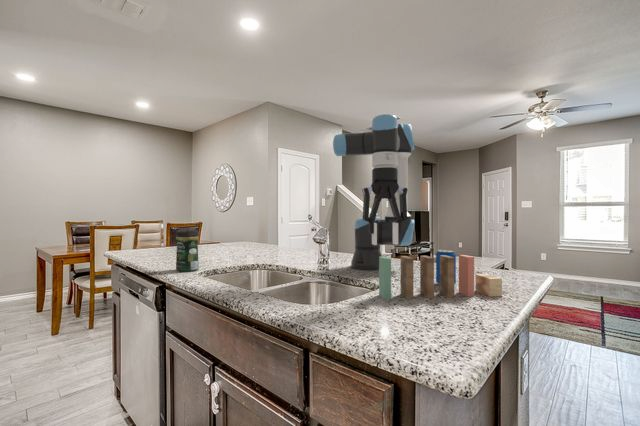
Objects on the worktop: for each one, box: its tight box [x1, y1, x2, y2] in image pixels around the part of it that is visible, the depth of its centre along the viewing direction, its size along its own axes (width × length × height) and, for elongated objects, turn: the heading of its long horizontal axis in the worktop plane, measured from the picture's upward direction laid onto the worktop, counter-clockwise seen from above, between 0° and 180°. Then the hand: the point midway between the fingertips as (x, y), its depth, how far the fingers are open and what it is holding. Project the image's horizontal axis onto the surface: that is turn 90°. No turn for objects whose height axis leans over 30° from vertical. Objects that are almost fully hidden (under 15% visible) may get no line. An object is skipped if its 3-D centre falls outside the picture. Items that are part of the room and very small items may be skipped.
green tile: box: [378, 255, 392, 301], centre depth 94 cm, size 5×2×12 cm, turn 7°
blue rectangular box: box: [435, 249, 457, 286], centre depth 111 cm, size 6×6×12 cm
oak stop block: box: [475, 273, 503, 297], centre depth 99 cm, size 7×4×5 cm, turn 7°
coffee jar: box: [175, 227, 200, 273], centre depth 138 cm, size 10×8×19 cm
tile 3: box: [419, 255, 435, 299], centre depth 96 cm, size 5×2×12 cm, turn 7°
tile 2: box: [400, 255, 414, 300], centre depth 95 cm, size 5×2×12 cm, turn 7°
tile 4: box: [439, 255, 455, 298], centre depth 97 cm, size 5×2×12 cm, turn 7°
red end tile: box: [458, 254, 475, 297], centre depth 98 cm, size 5×2×12 cm, turn 7°
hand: (384, 244), depth 95 cm, fingers open, 6 cm apart
